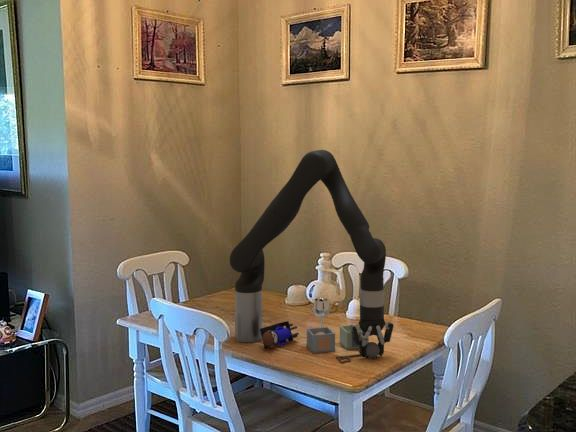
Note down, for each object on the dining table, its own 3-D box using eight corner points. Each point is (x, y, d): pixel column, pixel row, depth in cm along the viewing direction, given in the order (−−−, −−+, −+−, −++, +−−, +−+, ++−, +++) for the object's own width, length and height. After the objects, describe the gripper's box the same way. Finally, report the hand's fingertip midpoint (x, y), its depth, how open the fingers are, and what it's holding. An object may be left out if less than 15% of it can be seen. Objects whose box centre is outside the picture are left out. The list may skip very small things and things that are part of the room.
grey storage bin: (313, 353, 194) (312, 335, 193) (306, 345, 202) (306, 328, 201) (335, 351, 196) (335, 333, 195) (328, 344, 203) (328, 326, 203)
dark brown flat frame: (339, 363, 186) (339, 361, 186) (335, 358, 190) (335, 356, 190) (379, 359, 189) (379, 357, 188) (374, 354, 193) (374, 352, 193)
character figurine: (302, 343, 206) (269, 354, 195) (287, 337, 211) (254, 347, 201) (303, 321, 204) (269, 331, 194) (288, 315, 209) (255, 325, 199)
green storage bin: (347, 350, 197) (347, 332, 196) (339, 343, 204) (339, 325, 204) (368, 348, 198) (368, 330, 198) (360, 341, 206) (360, 324, 205)
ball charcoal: (366, 361, 187) (367, 345, 186) (361, 355, 192) (361, 340, 191) (382, 359, 188) (382, 344, 187) (376, 354, 193) (376, 339, 192)
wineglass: (328, 335, 213) (328, 302, 211) (312, 334, 214) (311, 301, 212) (330, 330, 218) (330, 297, 217) (314, 329, 219) (314, 297, 218)
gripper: (354, 307, 182) (354, 362, 184) (398, 304, 186) (397, 358, 188) (346, 301, 190) (346, 354, 192) (388, 298, 193) (388, 350, 195)
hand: (371, 355), depth 190 cm, fingers closed on ball charcoal, 5 cm apart
